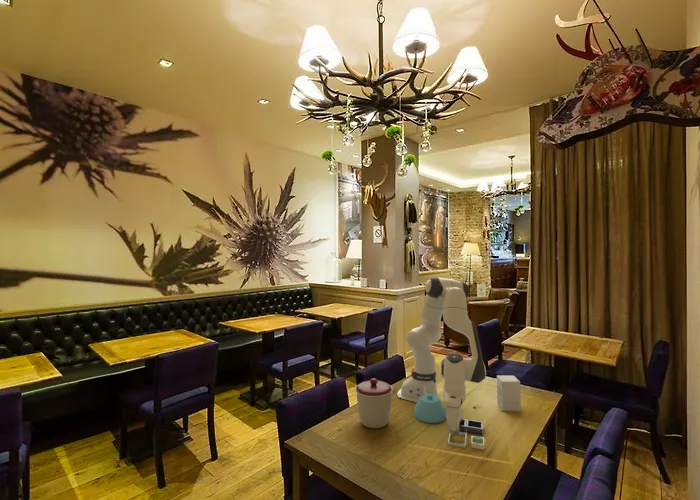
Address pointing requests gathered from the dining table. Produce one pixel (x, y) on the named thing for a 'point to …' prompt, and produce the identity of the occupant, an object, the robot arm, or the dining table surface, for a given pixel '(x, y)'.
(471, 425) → the dark two-compartment tray
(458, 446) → the tote
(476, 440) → the button
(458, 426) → the cylinder
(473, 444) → the box
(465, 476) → the dining table surface
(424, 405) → the sugar bowl
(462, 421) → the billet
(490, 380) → the dining table surface
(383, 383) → the canister
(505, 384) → the supplement box
